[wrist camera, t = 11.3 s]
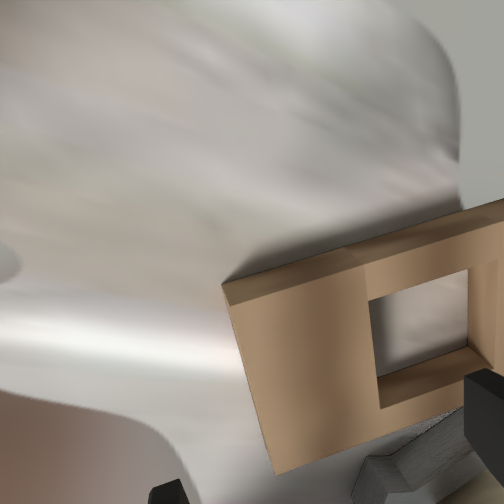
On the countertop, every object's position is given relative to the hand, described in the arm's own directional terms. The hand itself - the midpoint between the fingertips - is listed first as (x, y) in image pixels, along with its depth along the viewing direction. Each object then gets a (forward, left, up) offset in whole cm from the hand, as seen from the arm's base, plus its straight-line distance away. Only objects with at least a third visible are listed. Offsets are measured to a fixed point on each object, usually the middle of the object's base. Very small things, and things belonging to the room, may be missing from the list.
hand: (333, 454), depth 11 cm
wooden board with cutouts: (+8, -5, -10) cm, 14 cm away
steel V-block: (+8, -17, -10) cm, 21 cm away
